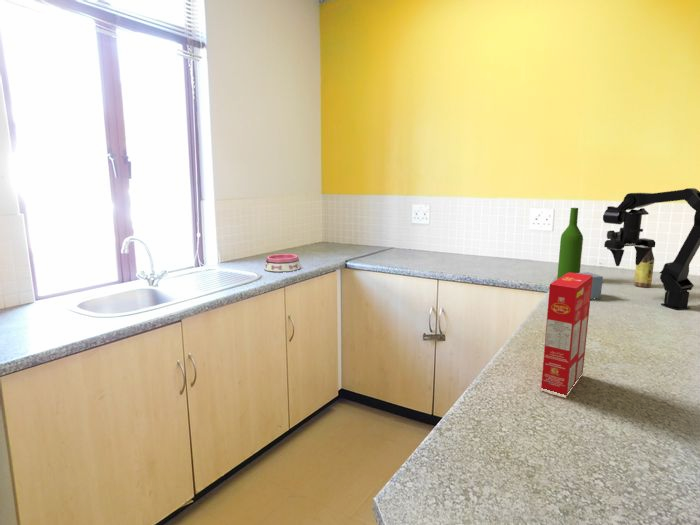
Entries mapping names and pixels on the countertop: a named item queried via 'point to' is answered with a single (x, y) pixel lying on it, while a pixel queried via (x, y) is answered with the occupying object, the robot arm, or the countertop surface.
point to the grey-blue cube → (595, 285)
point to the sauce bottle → (644, 271)
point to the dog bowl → (282, 263)
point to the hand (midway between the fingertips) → (627, 265)
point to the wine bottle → (570, 247)
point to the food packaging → (566, 331)
